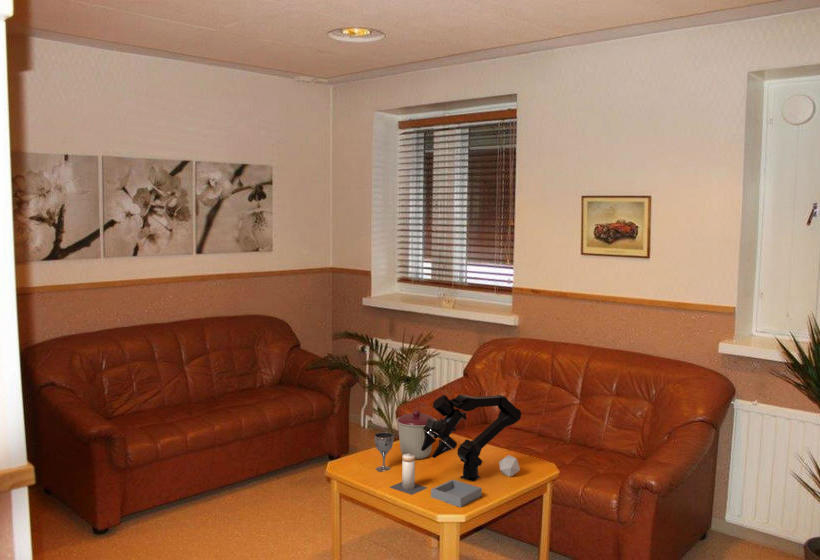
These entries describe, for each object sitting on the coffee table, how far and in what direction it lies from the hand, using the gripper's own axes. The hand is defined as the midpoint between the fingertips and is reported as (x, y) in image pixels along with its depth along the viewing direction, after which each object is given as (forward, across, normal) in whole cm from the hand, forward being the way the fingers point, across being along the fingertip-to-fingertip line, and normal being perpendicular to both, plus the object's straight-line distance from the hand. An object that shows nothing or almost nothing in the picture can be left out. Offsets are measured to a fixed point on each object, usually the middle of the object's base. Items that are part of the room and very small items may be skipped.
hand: (427, 453), depth 294 cm
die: (-14, +4, +37) cm, 40 cm away
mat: (+15, -1, +3) cm, 15 cm away
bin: (+7, +16, +12) cm, 21 cm away
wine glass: (+15, -25, +3) cm, 29 cm away
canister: (+1, -35, +19) cm, 40 cm away
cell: (+15, -1, +2) cm, 15 cm away
